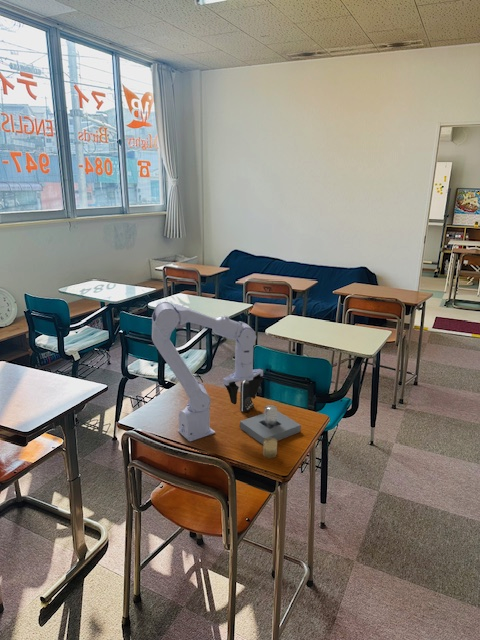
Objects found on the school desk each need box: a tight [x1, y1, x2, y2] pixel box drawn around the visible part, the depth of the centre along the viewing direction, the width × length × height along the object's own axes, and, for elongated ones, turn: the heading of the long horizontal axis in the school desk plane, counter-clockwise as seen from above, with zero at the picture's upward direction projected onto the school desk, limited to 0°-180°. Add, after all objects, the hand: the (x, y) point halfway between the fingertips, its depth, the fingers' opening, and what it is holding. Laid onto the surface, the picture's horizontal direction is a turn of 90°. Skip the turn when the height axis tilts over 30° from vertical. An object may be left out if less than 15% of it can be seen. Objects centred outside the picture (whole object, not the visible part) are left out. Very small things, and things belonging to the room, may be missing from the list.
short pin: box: [262, 437, 278, 459], centre depth 130 cm, size 4×4×4 cm
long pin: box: [263, 404, 278, 429], centre depth 143 cm, size 4×4×8 cm
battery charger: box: [239, 380, 255, 413], centre depth 157 cm, size 7×4×11 cm, turn 157°
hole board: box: [239, 410, 302, 446], centre depth 144 cm, size 15×13×2 cm
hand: (243, 400), depth 143 cm, fingers open, 7 cm apart
